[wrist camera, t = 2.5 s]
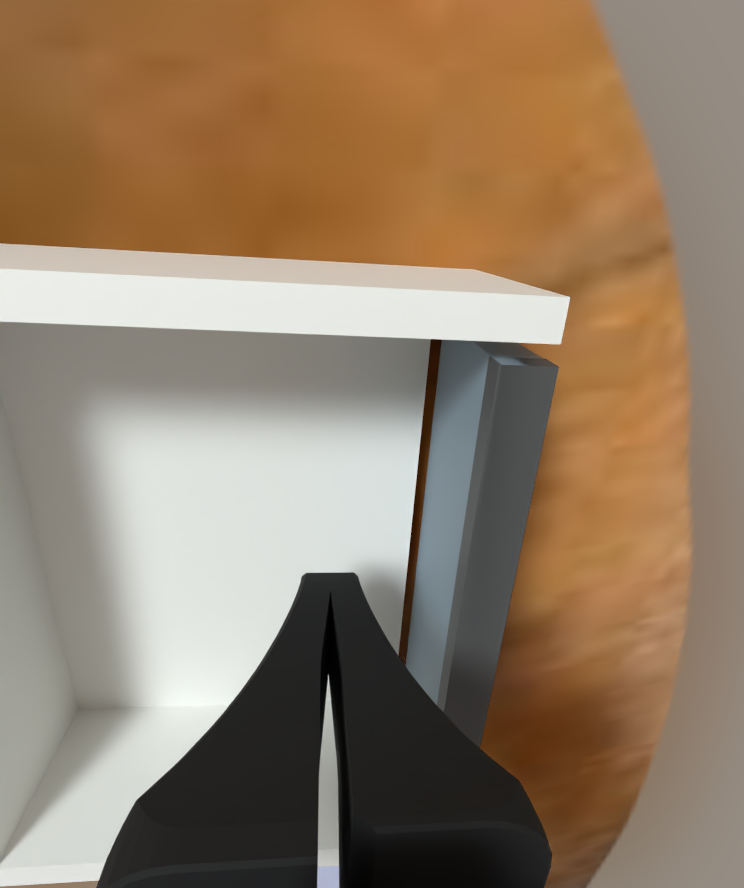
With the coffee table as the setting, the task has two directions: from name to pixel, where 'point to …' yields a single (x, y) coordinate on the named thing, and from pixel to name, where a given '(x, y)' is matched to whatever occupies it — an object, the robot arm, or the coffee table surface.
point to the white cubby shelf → (194, 500)
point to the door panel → (475, 518)
